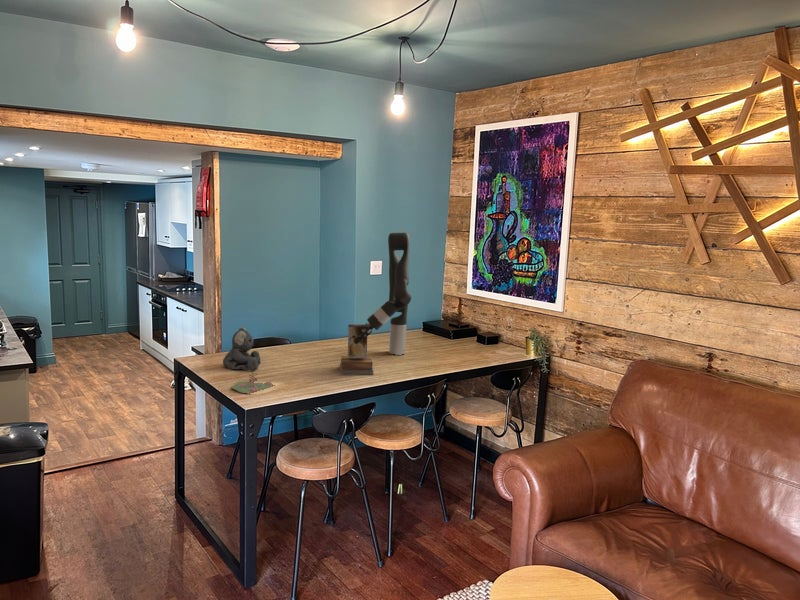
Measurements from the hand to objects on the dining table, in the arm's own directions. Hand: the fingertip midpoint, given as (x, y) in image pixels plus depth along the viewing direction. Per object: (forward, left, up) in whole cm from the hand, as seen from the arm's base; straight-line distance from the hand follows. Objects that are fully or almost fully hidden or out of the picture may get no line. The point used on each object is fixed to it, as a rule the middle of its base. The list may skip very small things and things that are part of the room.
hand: (354, 341), depth 299 cm
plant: (+29, -43, -16) cm, 54 cm away
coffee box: (0, +2, -8) cm, 8 cm away
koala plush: (-5, -55, -15) cm, 58 cm away
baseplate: (0, +2, -15) cm, 15 cm away
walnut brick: (0, +2, -13) cm, 13 cm away
